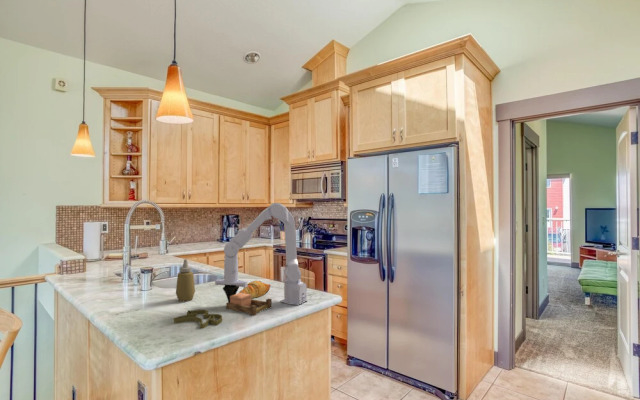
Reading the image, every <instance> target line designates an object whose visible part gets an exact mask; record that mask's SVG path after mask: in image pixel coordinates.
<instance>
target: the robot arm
mask: <svg viewBox="0 0 640 400" xmlns="http://www.w3.org/2000/svg"><path fill="white" fill-rule="evenodd" d="M272 217H273V218H274V219H275V218H276V219H278V220H279V221H281V222H282V224H284V226H283V227H284V242H285V243H284V246H285V268H284V270H283V272H284V275H285V278H284V280H283V281H284V283H283V285H284V286H283V289H284V290H283V295H284V296H283V297H284V298H283V299H282V300H280V301H279V302H280V303H282V302H284V303H285V304H288V303H289V304H290V305H294V304H295V305H294V306H300V305H301V303H302V304H304V303H306V302H308V298H307V297H308V295H307V294H308V292H307V289H308V288H307V284H306V283H305V282H303V281H302V280H301V278H302V272H301V269H300V268H299V262H298V257H297V254H298V252H297V238H296V237H297V236H296V222H295V218H294V216H293V215H292V213H291V212H290V210H288V208H287V206H285V205H284V204H282V203H280V202H273V203H271V204H270V205H269V207H266V208H265V209H264V210H262V211H261V212H260V214H258V215H257V216H256V218H255V219H253V221H251V223H250V224H249V225H248V226H247V227H246V228H245V227H243V228H241V229H238V230H237V231H236V232H237V233H236V234H235V235H234V236H233V237H232V238H229V242H227V243H226V244H225V246H224V248H223V252H224V261H223V264H224V266H223V273H224V274H223V276H224V277H223V279H215V281H214V282H215V283H214V284H215V286H223V287H222V290H223V291H224V293H225V295H226V299H227V303H228V302H229V303H230V296H232V295H235V294H238V291H239V288H244V287H247V286H248V283H249V282H248V281H243V280H239V259H238V253H239V250H242V249H243V247H244V246H245V245H246V244H248V242H249V241H250V240H251V239H252V238H253V233H254V232H255V231H256V230H257V229H258V228H260V226H261V225H262V224H263V223H264V222H265V221H268V220H271V219H273V218H272ZM305 301H306V302H305ZM303 302H304V303H303ZM284 303H283V304H284ZM299 304H300V305H299Z"/></svg>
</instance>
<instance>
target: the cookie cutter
mask: <svg viewBox="0 0 640 400" xmlns="http://www.w3.org/2000/svg"><path fill="white" fill-rule="evenodd" d="M198 315H203V319H204V320H206V321H205V322H204V323H203V319H202V317H199V316H198ZM215 319H216V320H215ZM222 321H223V315H222V314H219V313H209V310H207V309H206V310H205V309H191V310H187V311H186V314H185V315H180V316H176V317H173V323H174V324H179V323H186V322H196V323H199V329H205V328H206V327H208V326H209V324H210V325H213V326H218V325H220V324H221V323H222Z"/></svg>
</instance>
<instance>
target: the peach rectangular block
mask: <svg viewBox="0 0 640 400" xmlns="http://www.w3.org/2000/svg"><path fill="white" fill-rule="evenodd" d="M251 299H252V298H251V294H245V293H239V292H237V293H236V294H235V295H232V296H230V303H234V304H239V305H244V306H250V305H251Z"/></svg>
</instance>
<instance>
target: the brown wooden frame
mask: <svg viewBox="0 0 640 400" xmlns="http://www.w3.org/2000/svg"><path fill="white" fill-rule="evenodd" d="M225 306H226V308H225V309H226V310H229V311H236V312H240V313H244V314H249V315H250V316H252V315H253V316H257V314H258V313H260V311H261V312H263V311H265V310H267V309H268V308H270V307H272V298H267V299H265V301H264V300H257V299H254V298H251V305H250V306H244V305H239V304H234V303H229V302H228V301H227V302H226V304H225ZM266 308H267V309H266ZM264 309H265V310H264ZM270 309H271V308H270ZM262 310H263V311H262Z"/></svg>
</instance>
